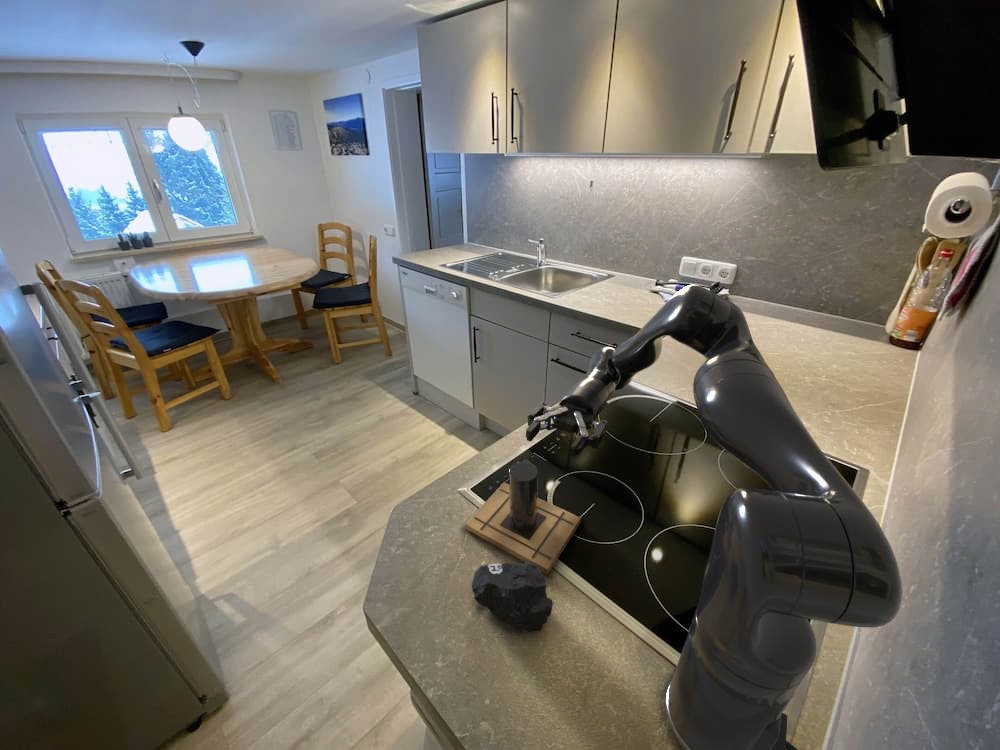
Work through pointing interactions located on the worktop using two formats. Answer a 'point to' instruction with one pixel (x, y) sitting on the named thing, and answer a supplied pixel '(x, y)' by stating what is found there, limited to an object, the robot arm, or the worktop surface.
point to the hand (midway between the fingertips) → (549, 444)
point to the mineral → (513, 594)
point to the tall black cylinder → (523, 495)
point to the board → (526, 545)
